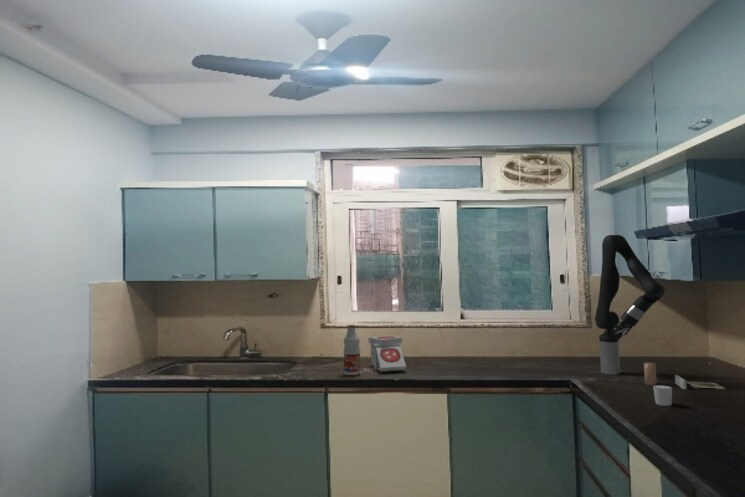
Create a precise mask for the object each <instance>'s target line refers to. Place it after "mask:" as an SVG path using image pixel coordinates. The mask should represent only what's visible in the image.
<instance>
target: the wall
mask: <svg viewBox="0 0 745 497" xmlns="http://www.w3.org/2000/svg"><path fill="white" fill-rule="evenodd" d="M674 380H675V381H674V382H675V385H677V386H678V387H679V388H681V389H683V390H687V389H688V388H687V380H686V379H684V378H682V377H681V376H680V375H678V374H674Z"/></svg>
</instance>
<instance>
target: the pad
mask: <svg viewBox="0 0 745 497" xmlns="http://www.w3.org/2000/svg"><path fill="white" fill-rule="evenodd" d="M686 384H688V385H689V384H690V385H689V386H691V387H692V386H693V388H694V389H699V388H716V389H715V390H726V387H724V386H722V385H720V384H718V383H716V382H715V383H714V382H712V381H710V382H709V381H707V382H706V381H686Z"/></svg>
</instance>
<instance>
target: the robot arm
mask: <svg viewBox="0 0 745 497" xmlns="http://www.w3.org/2000/svg"><path fill="white" fill-rule="evenodd" d="M601 250H602V251H601V255H602V256H601V257H602V261H601V274H600V281H599V282H600V283H599V295H598V300H597V301H598V302H597V307H596V311H595V316H594V321H595V325H596V327H597V328H598V329H601V330H604V331H603V333H601V334H600V335H598V336H599V338H598V340H599V355H600V356H599V357H600V372H601V374H604V375H611V376H612V375H613V376H614V375H615V376H616V375H620V374H621V368H620V367H621V366H620V349H619V347H620V346H619V341H620V340H621V338H622V337H624V336H627V334H629V332H630V331H631V329H632V328H633V327H635V326H636V325H637V324H638V323H639V322H640V320H641V319H643V316H644V315H645V314H646V313H647V311H648V310H649V309H651V307H652V306H653V305H655V303H657V302H658V301H659V300H660V299H661V298H663V296H664V294H665V292H666V291H665V287H664V285H662V284H660V283H659V282H657V281H656V280H655V279H654V278H653V276H652V274H651V272H650V271H649V270H648V268H646V266H645V265H644V264H643V263H642V261H641V260H640V259H639V258H638V256H637V255H636V254H635V252H634V250H633V249H632V247H631V246H630V244H629V242H628V240H627V239H626V238H625V237H624V236H623V235H621V234H609V235H606V236H605V237H604V238H603V240H602V244H601ZM617 254H619V255H621V257H622V258H623V259H624V260H625V262H626V265H627V268H628V271H629V272H630V274H631V275H632V277H634V278H635V280H636V281H637V282H638V283H639V284H640V286H641V288H642V289H643V291H644V292H645V293H644V294H642V295H640V296H638V297H637V298H636V299H635V300H634V302H633V303H632V304H631V305H630V306H628V308H627V309H626V310H625V311H624V312H623V314H622V315H621V316H620V317H619V315H618V314H617V313H616V312H615V311H612V310H611V311H610V308H611V304H612V302H613V300H614V298H615V297H616V295H617V293H618V291H619V287H620V280H621V277H620V273H619V270H618V266H617V263H616V258H617ZM620 319H621V320H622V321H620Z"/></svg>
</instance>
